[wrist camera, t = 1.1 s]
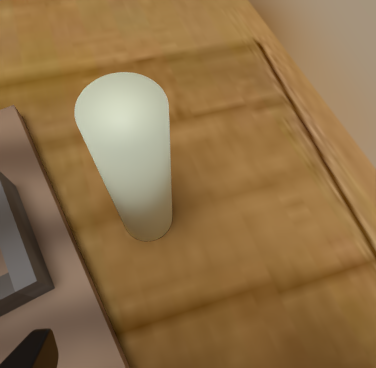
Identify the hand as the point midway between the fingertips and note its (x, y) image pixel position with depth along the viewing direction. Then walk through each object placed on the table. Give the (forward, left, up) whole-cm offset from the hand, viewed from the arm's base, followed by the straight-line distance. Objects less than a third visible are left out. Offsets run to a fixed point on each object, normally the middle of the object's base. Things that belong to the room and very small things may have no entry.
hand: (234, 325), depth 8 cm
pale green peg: (+4, +8, -15) cm, 17 cm away
